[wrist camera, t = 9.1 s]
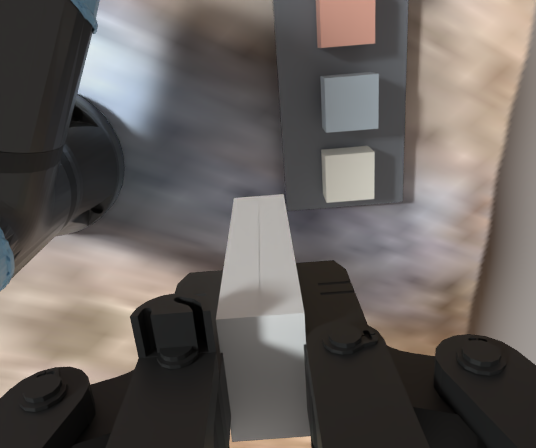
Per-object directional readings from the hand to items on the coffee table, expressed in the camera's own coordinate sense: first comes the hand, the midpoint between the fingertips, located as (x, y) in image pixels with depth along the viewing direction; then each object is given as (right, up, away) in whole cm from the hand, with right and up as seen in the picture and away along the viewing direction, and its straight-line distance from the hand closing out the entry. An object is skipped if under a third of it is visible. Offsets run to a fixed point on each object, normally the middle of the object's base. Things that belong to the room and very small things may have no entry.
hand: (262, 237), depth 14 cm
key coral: (+7, +19, +29) cm, 35 cm away
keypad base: (+7, +13, +32) cm, 35 cm away
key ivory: (+8, +6, +34) cm, 35 cm away
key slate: (+7, +12, +30) cm, 33 cm away
